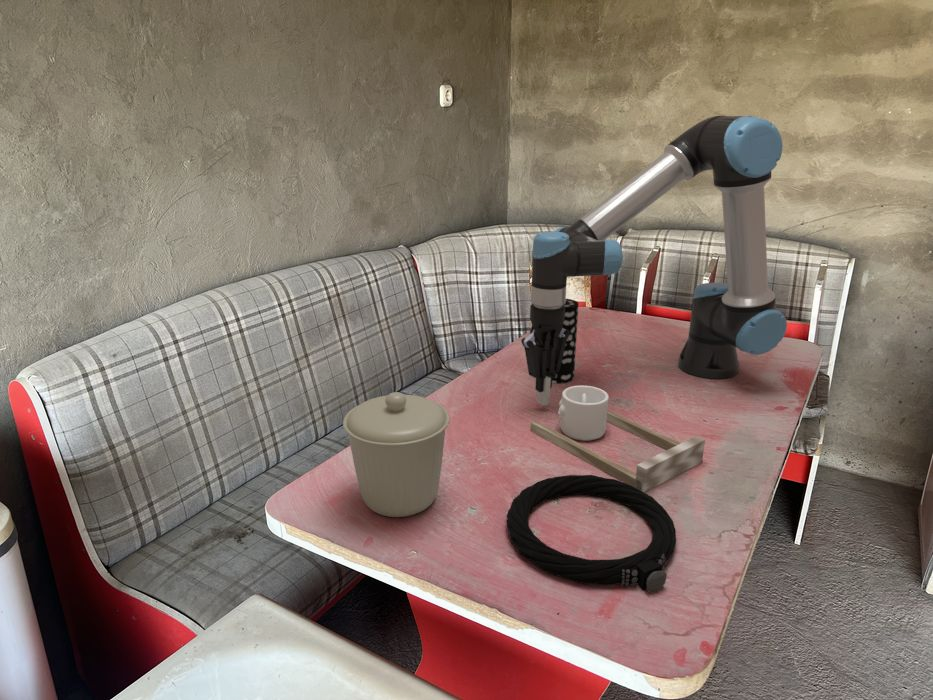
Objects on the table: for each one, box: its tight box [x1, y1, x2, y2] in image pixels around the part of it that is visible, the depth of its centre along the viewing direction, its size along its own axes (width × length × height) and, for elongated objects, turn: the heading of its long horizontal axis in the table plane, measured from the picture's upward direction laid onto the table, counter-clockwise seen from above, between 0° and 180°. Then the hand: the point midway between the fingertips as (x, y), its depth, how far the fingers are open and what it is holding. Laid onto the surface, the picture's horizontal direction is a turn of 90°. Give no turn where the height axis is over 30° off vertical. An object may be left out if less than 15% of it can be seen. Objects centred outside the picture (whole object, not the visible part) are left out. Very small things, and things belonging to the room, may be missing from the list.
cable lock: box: [506, 474, 677, 594], centre depth 108 cm, size 28×4×30 cm
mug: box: [557, 385, 610, 442], centre depth 141 cm, size 12×10×9 cm
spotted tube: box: [552, 298, 579, 384], centre depth 166 cm, size 8×8×20 cm
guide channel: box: [530, 409, 706, 493], centre depth 135 cm, size 18×30×5 cm, turn 37°
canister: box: [342, 391, 451, 518], centre depth 114 cm, size 18×18×21 cm
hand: (542, 402), depth 151 cm, fingers closed
